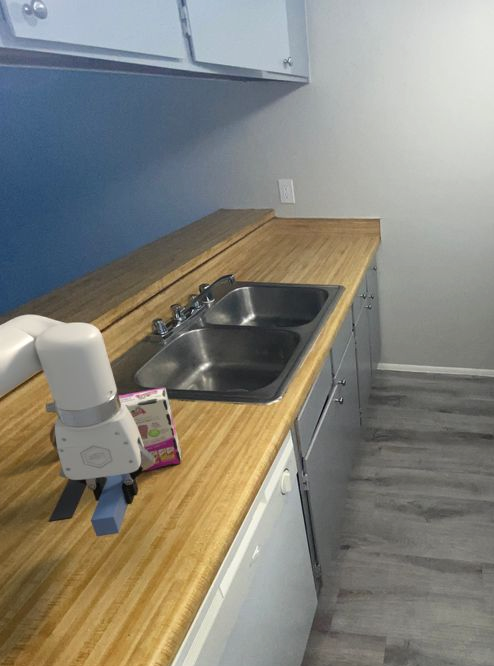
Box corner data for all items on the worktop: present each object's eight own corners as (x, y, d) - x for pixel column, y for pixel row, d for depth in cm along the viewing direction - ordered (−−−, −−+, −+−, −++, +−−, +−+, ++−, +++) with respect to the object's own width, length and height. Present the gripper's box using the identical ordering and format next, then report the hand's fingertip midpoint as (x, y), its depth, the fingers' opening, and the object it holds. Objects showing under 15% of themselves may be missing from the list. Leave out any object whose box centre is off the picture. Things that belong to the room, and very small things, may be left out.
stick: (96, 536, 70) (90, 520, 69) (119, 472, 82) (115, 457, 81) (119, 533, 71) (113, 516, 70) (138, 470, 83) (134, 455, 82)
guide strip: (48, 521, 85) (48, 520, 85) (74, 469, 97) (74, 468, 96) (71, 517, 86) (71, 517, 85) (94, 466, 97) (94, 465, 97)
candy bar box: (181, 449, 103) (166, 385, 95) (181, 463, 99) (166, 398, 91) (123, 462, 99) (102, 396, 91) (121, 477, 95) (99, 410, 87)
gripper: (12, 429, 63) (52, 526, 71) (147, 415, 67) (170, 508, 76) (34, 398, 69) (69, 491, 78) (156, 387, 73) (177, 476, 82)
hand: (118, 498), depth 77 cm, fingers closed on stick, 3 cm apart
